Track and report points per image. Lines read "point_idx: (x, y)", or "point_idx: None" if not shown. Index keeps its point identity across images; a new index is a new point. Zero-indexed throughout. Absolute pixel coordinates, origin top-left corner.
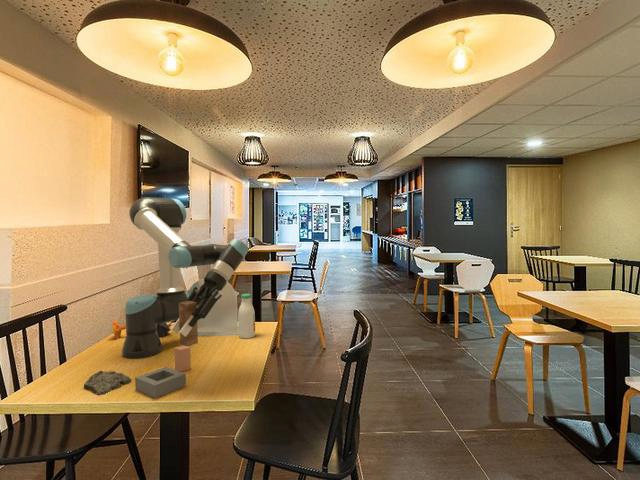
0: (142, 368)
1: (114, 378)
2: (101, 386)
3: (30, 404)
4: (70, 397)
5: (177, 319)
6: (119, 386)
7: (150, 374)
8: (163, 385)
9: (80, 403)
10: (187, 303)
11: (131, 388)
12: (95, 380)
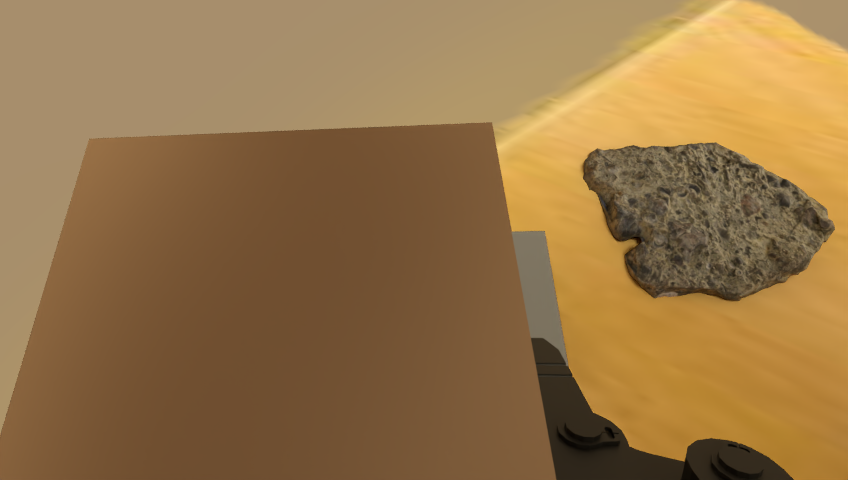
0: (813, 426)
1: (682, 224)
2: (634, 166)
3: (673, 26)
4: (644, 99)
5: (559, 353)
6: (612, 229)
7: (524, 295)
8: None
9: (561, 99)
10: (174, 231)
11: (559, 255)
12: (725, 177)
